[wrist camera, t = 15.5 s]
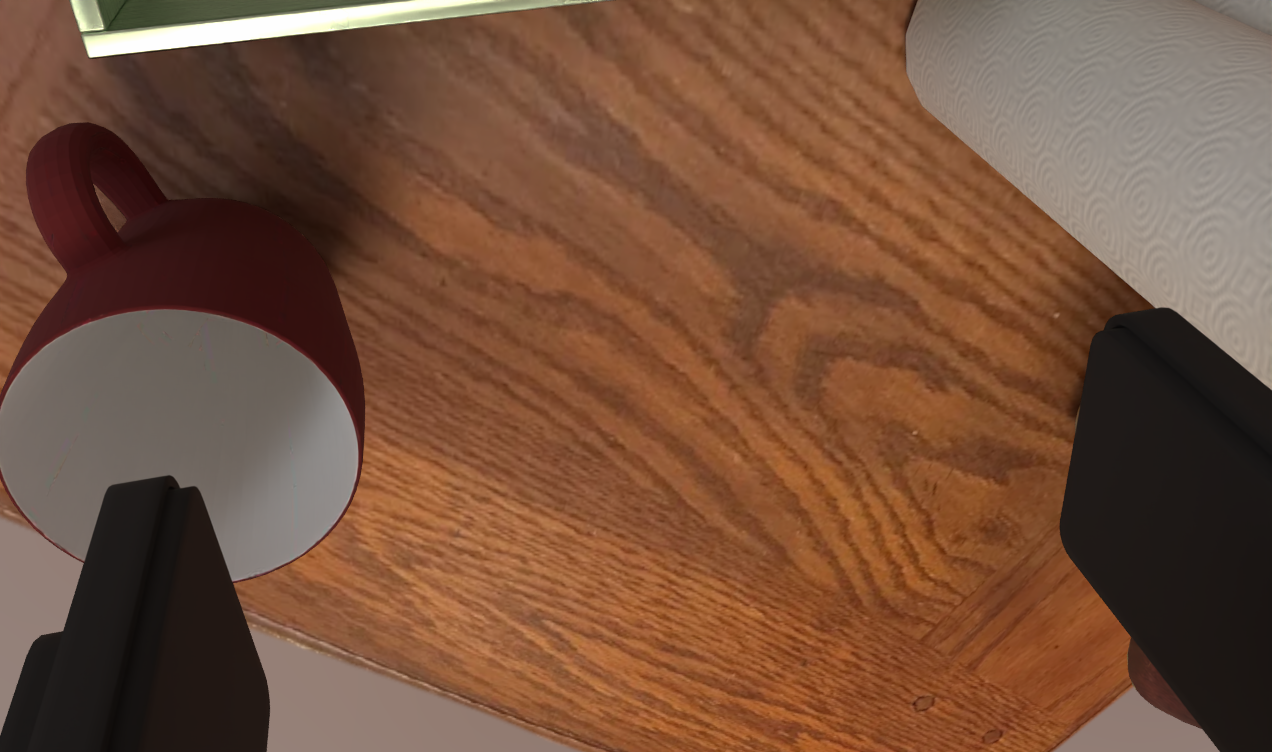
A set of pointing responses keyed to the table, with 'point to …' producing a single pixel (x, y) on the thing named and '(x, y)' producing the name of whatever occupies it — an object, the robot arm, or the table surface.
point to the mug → (179, 363)
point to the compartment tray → (258, 19)
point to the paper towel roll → (1126, 138)
